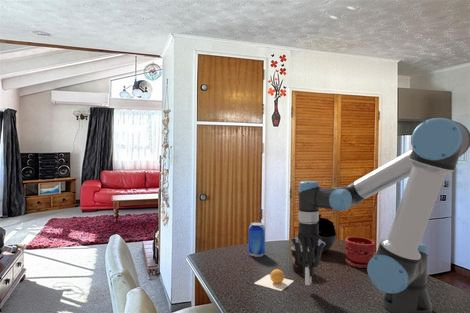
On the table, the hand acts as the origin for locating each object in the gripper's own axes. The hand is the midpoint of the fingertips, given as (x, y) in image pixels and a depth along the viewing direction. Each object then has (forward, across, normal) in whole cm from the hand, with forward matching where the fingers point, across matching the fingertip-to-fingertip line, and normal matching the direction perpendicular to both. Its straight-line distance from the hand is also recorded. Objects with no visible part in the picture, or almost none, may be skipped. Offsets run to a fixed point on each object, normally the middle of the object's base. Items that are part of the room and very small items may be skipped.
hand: (308, 283), depth 125 cm
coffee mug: (+3, +12, -20) cm, 23 cm away
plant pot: (+3, -8, -43) cm, 44 cm away
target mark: (+3, +14, 0) cm, 15 cm away
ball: (0, +13, 0) cm, 13 cm away
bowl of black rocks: (+3, +16, -52) cm, 54 cm away
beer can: (+2, +38, -27) cm, 47 cm away
